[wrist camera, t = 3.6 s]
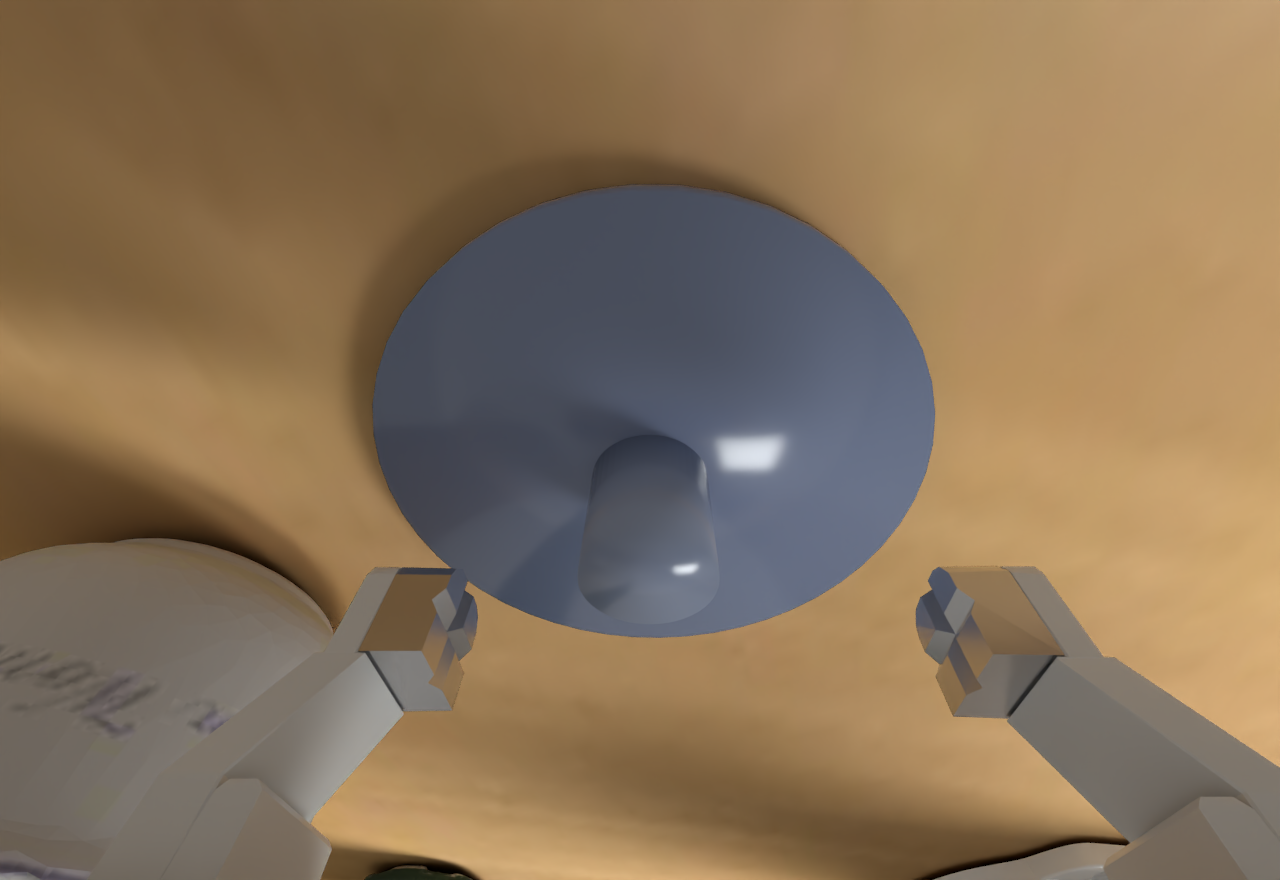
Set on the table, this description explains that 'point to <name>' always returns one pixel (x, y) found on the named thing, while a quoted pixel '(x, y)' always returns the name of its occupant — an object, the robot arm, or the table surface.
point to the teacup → (125, 681)
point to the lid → (653, 411)
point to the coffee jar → (414, 874)
